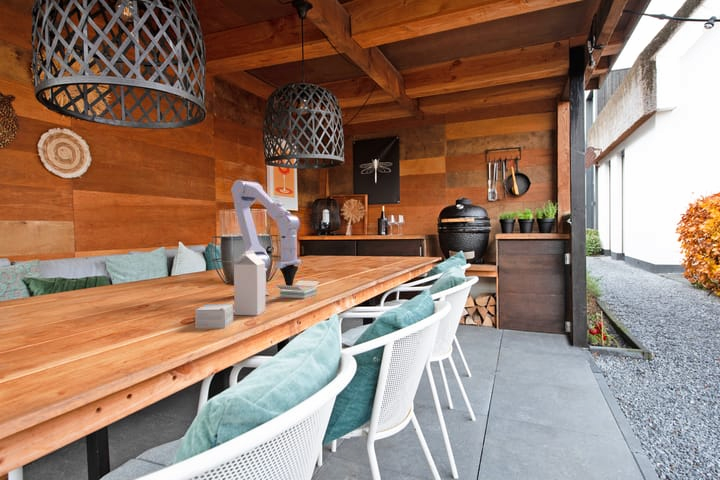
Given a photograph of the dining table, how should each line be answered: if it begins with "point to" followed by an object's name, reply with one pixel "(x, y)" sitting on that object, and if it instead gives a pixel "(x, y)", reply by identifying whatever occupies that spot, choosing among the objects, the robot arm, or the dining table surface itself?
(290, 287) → the flap near
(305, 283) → the flap far
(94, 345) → the dining table surface
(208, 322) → the small box
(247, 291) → the milk carton
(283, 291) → the carton
